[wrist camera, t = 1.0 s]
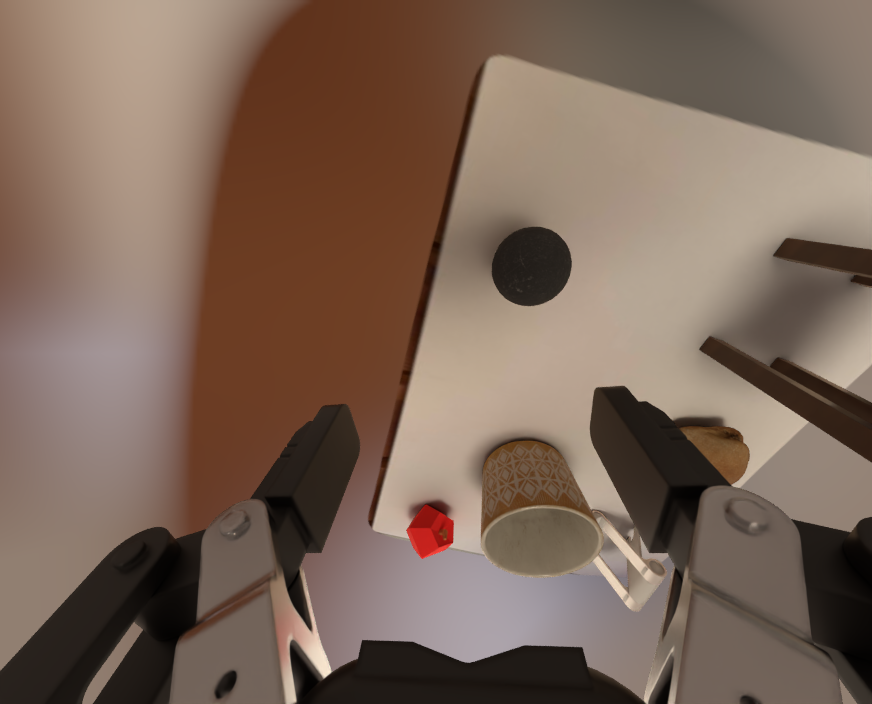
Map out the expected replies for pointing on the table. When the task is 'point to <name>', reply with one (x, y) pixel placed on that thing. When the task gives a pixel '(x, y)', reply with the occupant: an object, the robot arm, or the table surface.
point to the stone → (721, 449)
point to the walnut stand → (797, 387)
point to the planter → (535, 513)
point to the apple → (430, 532)
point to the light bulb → (531, 266)
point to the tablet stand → (631, 567)
